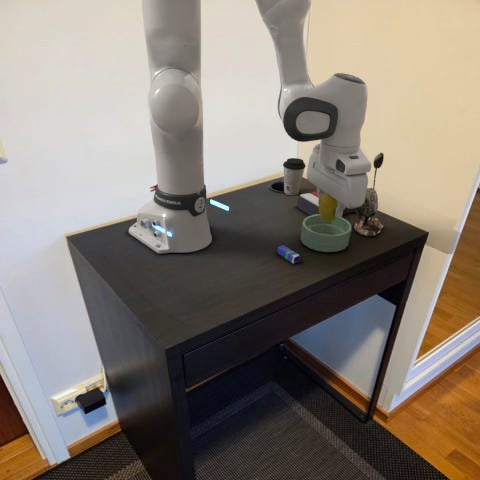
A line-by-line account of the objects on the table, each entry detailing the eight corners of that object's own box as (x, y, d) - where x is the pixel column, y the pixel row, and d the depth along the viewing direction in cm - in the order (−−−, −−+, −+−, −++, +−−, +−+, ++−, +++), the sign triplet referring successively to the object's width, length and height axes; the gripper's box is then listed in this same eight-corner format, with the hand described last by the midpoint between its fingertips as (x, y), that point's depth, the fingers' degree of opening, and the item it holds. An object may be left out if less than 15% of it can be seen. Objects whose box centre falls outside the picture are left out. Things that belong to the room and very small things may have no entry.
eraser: (293, 264, 106) (294, 257, 105) (277, 254, 110) (277, 246, 108) (299, 262, 107) (300, 254, 106) (283, 251, 111) (283, 244, 109)
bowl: (292, 243, 114) (293, 225, 111) (315, 227, 122) (317, 210, 119) (334, 258, 109) (337, 240, 105) (355, 240, 116) (359, 223, 113)
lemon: (329, 228, 109) (334, 197, 104) (312, 221, 112) (316, 190, 107) (343, 222, 112) (348, 191, 107) (326, 215, 115) (330, 185, 110)
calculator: (361, 199, 129) (322, 206, 122) (358, 213, 131) (319, 221, 124) (336, 186, 136) (298, 192, 129) (333, 199, 138) (295, 206, 132)
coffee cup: (285, 197, 137) (288, 165, 131) (277, 189, 142) (279, 157, 136) (306, 195, 139) (310, 163, 133) (296, 187, 144) (300, 156, 138)
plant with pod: (340, 229, 121) (353, 155, 109) (368, 219, 126) (384, 148, 114) (361, 241, 116) (378, 165, 104) (391, 231, 121) (410, 157, 109)
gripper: (303, 142, 108) (298, 197, 116) (352, 170, 93) (341, 230, 102) (325, 140, 110) (318, 193, 118) (376, 167, 95) (364, 226, 104)
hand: (329, 211), depth 110 cm, fingers closed on lemon, 5 cm apart
